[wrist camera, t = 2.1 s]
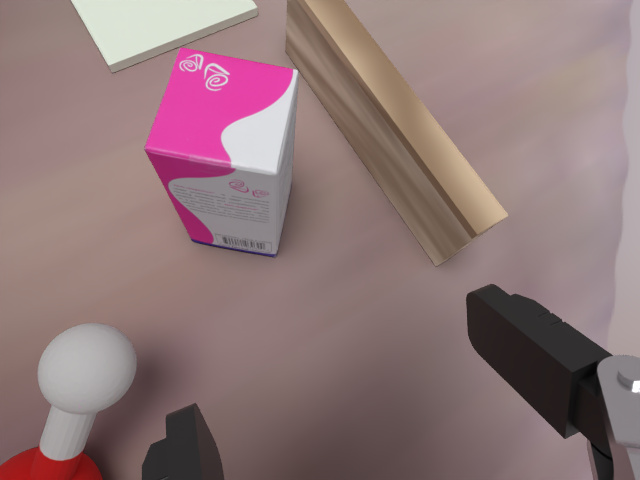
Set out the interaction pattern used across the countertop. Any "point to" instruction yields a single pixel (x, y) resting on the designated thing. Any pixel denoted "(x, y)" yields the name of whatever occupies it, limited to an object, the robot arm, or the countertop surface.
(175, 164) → the supplement box
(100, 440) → the countertop surface
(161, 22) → the mat
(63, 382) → the molecular model
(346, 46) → the wooden plank offcut
